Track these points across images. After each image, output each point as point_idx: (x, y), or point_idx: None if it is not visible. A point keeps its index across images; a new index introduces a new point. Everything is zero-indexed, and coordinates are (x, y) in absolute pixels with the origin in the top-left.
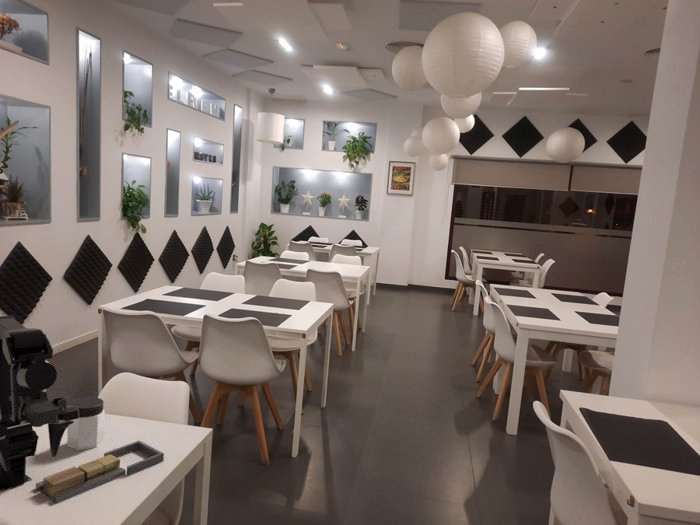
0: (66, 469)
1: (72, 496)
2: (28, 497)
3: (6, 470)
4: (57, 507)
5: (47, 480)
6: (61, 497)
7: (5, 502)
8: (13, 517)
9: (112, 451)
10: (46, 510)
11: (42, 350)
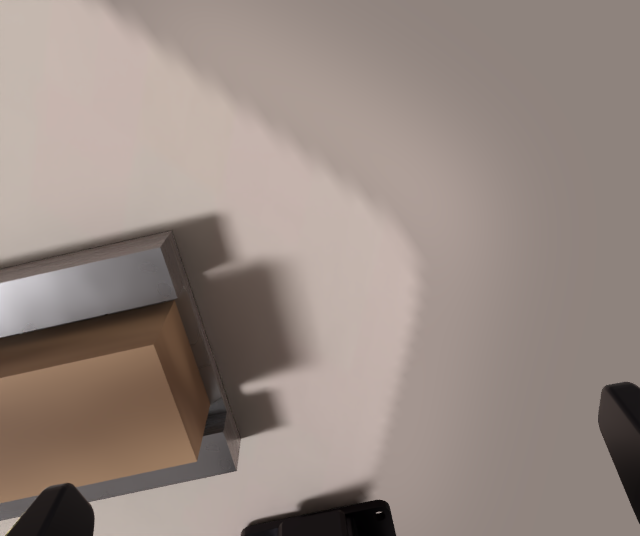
0: None
1: (64, 259)
2: (285, 398)
3: (632, 393)
4: (166, 210)
5: (180, 419)
6: (128, 252)
7: (391, 409)
8: (394, 245)
9: None
10: (228, 214)
11: None
